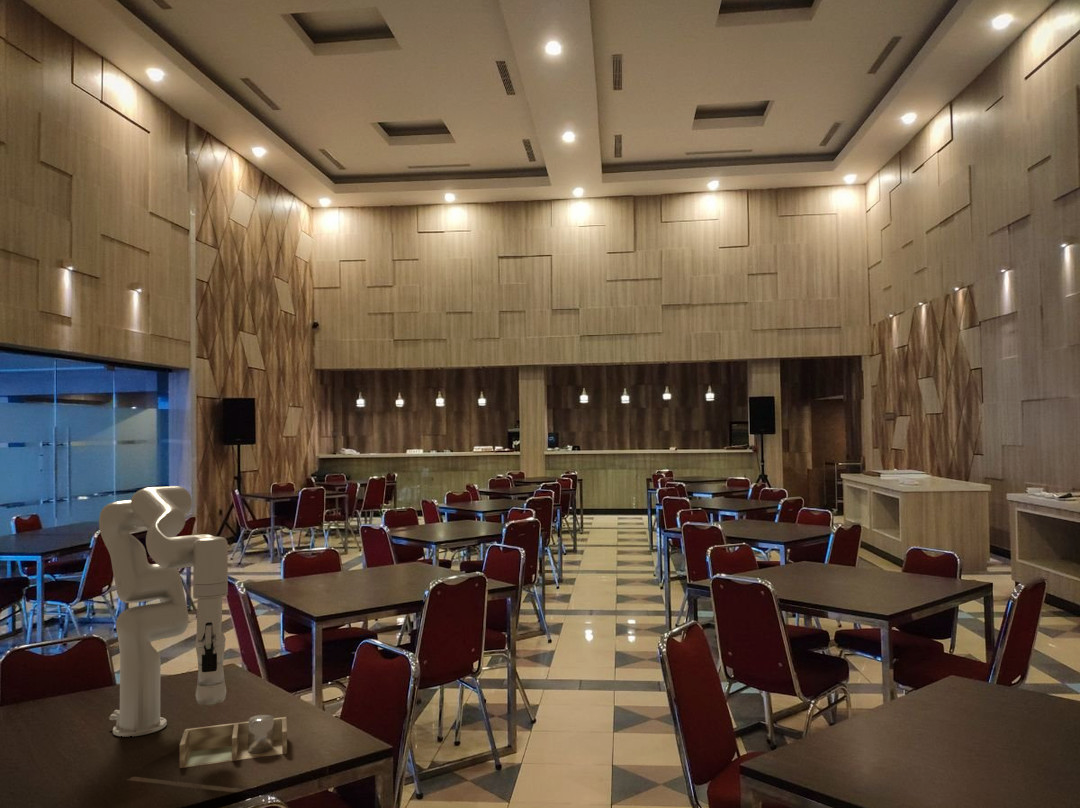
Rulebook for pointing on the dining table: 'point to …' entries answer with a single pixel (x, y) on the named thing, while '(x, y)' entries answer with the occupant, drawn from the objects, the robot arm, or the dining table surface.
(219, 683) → the plastic bottle
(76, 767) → the dining table surface
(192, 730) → the divider rack
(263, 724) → the grey short cylinder
